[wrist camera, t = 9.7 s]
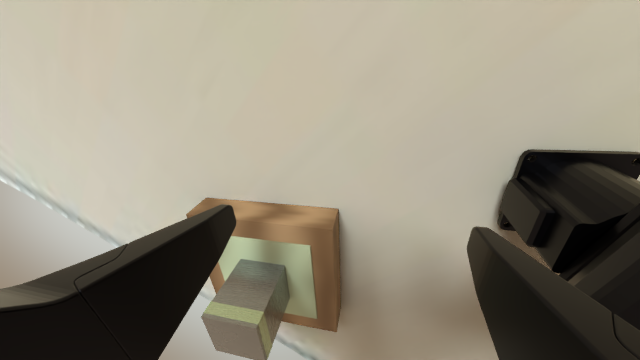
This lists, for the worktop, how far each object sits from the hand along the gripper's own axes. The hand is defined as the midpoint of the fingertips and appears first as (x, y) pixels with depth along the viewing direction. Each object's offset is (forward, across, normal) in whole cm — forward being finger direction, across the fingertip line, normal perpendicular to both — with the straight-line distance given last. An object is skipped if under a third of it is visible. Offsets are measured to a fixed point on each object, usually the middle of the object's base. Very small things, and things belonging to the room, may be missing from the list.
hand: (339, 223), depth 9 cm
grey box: (+8, +9, +14) cm, 18 cm away
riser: (+11, +9, +14) cm, 20 cm away
